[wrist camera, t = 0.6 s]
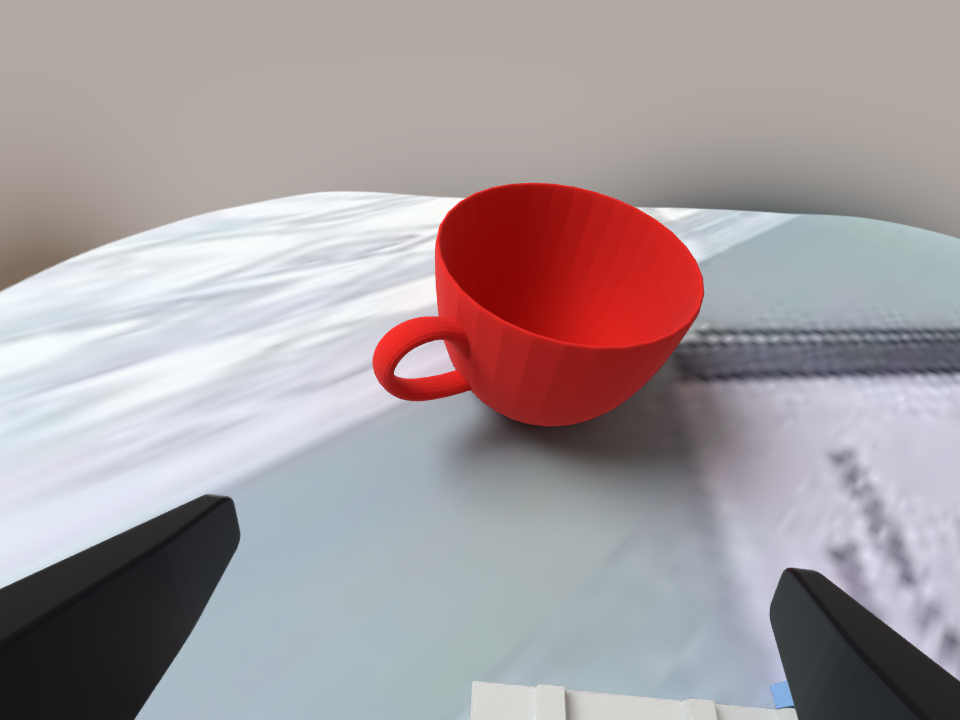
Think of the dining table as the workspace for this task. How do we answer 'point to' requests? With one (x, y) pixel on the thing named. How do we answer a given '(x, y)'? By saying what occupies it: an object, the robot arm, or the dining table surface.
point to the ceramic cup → (549, 304)
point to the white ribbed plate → (610, 705)
